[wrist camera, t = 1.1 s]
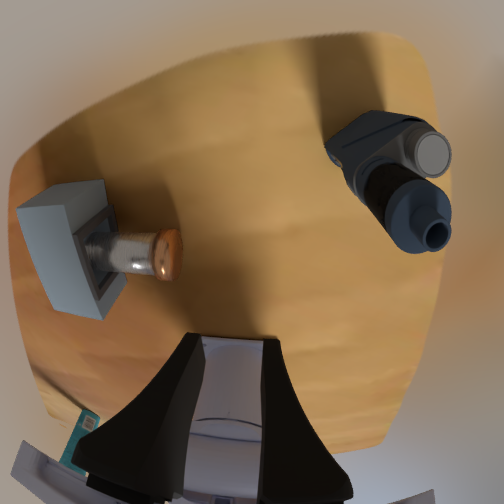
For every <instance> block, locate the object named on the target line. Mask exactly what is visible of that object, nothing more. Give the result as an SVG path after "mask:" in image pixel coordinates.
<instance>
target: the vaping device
mask: <svg viewBox="0 0 504 504" xmlns="http://www.w3.org/2000/svg"><path fill="white" fill-rule="evenodd" d="M324 148H326V151H327V154H328V156H329V158H330V159H331V161H332V162H333V163H334V164H335V165H337V166H339V167H341V169H342V170H343V174H344V177H345V180H346V183H347V185H348V187H349V188H350V189H351V191H352V192H353V193H354V195H355V196H357V197H358V198H359V200H360V201H361V202H362V203H363V204H364V205H366V206H367V207H368V208H369V210H370V211H371V212H372V213H373V215H374V216H375V217H376V218H377V220H378V221H379V222H380V224H381V225H382V226H383V228H384V229H385V230H386V232H388V234H389V236H390V237H391V238H392V240H393V241H394V243H395V244H396V245H397V247H399V248H400V249H401V250H403V251H405V252H407V253H411V254H418V253H423V252H426V251H430V252H436V251H439V250H441V249H442V248H443V247H444V246H445V245H446V244H447V243H448V241H449V239H450V236H451V225H450V222H451V205H450V201H449V199H448V197H447V195H446V194H445V193H444V191H442V190H441V189H440V188H439V187H437V186H436V185H434V184H433V183H431V182H430V181H428V180H426V179H425V178H426V177H429V178H437V177H439V176H441V175H443V174H444V173H445V172H446V171H447V169H448V167H449V165H450V162H451V155H452V154H451V147H450V144H449V142H448V140H447V139H446V138H445V136H443V135H442V134H441V133H439V132H437V131H436V130H435V129H434V128H433V127H432V126H431V125H430V124H428V123H427V122H426V121H425V120H423V119H421V118H418V117H414V116H409V115H404V114H398V113H392V112H385V111H378V110H371V111H369V112H368V113H364V114H362V115H361V116H360V117H358V118H357V119H356V120H354V121H353V122H352V123H350V124H349V125H348V126H346V127H345V128H344V129H342V130H341V131H340V132H338V133H337V134H336V135H335V136H333V137H332V138H331V139H329V140H328V141H327V142H326V144H325V147H324Z"/></svg>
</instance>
